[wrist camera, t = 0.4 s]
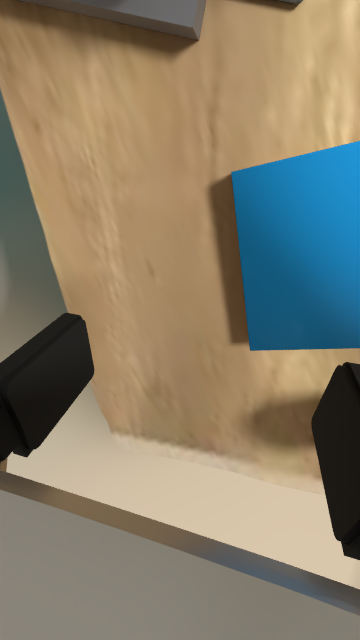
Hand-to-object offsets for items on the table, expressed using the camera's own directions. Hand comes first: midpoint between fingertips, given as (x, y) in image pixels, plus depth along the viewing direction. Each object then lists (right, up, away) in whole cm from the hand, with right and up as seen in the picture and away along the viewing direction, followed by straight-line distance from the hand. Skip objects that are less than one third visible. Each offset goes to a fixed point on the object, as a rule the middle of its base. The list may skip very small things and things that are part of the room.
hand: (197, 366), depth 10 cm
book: (+17, +10, +25) cm, 32 cm away
